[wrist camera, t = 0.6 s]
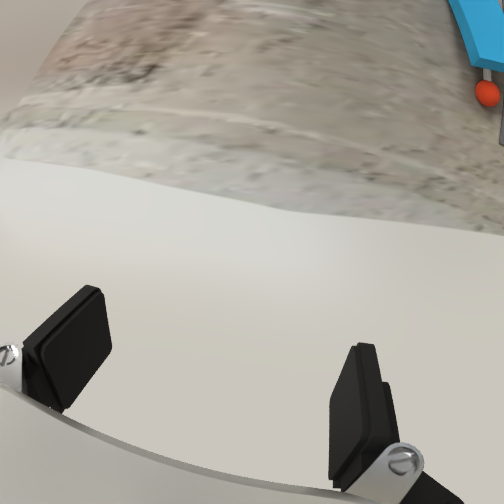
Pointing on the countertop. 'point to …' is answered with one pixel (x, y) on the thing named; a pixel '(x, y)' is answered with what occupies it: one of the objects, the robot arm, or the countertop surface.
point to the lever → (482, 41)
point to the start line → (503, 132)
